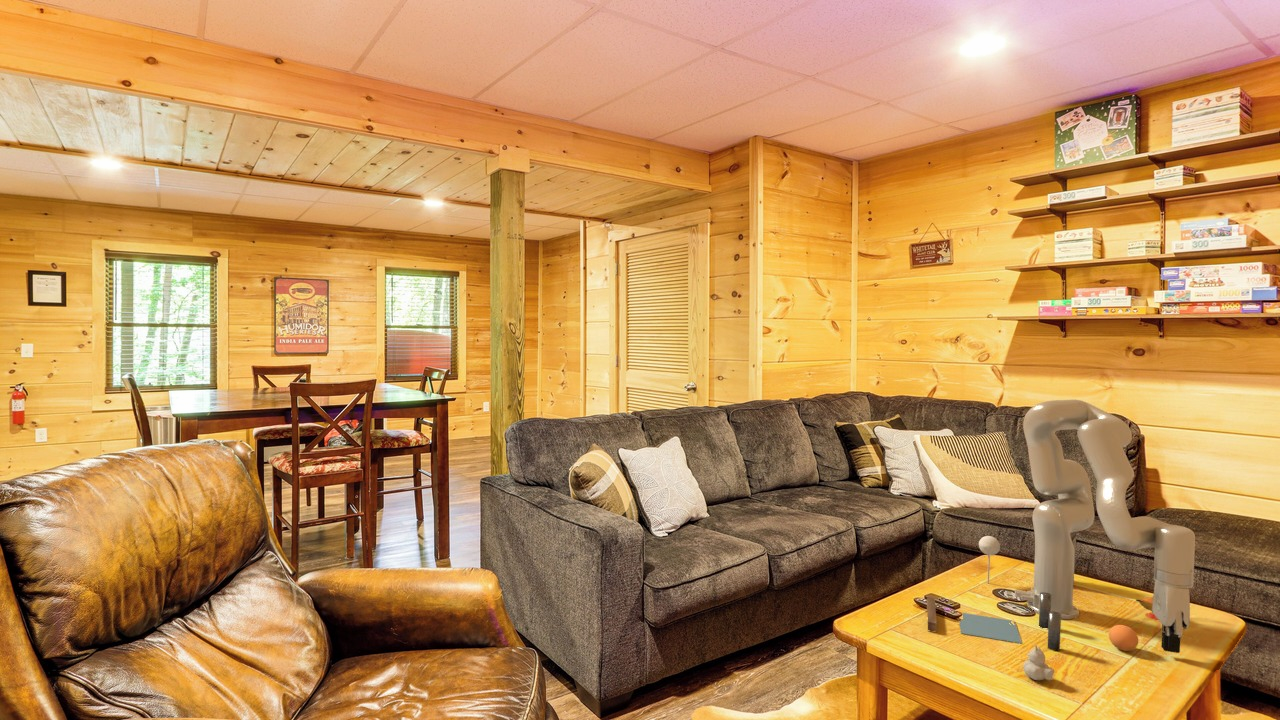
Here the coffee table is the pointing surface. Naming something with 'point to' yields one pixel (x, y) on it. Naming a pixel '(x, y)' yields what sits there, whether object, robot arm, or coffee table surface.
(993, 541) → the lollipop
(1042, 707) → the coffee table surface
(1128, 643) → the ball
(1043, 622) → the post
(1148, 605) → the magic lamp
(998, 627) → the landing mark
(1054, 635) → the post
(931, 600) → the wall
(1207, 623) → the coffee table surface
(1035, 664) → the grey lumpy figure
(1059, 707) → the coffee table surface
